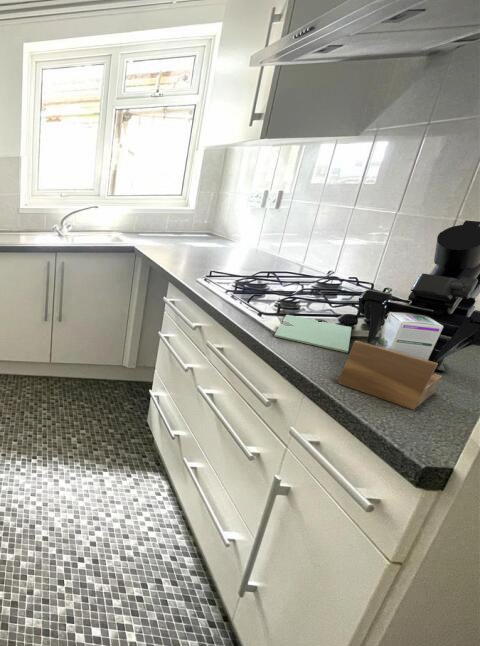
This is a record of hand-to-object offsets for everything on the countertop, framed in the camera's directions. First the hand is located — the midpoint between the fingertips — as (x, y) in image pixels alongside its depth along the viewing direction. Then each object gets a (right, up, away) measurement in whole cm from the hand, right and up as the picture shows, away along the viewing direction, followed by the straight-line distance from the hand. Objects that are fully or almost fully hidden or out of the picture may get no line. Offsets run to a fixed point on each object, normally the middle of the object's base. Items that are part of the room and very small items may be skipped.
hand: (400, 350), depth 76 cm
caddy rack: (+1, -7, +4) cm, 8 cm away
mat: (+9, +4, +29) cm, 31 cm away
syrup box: (+1, -8, +4) cm, 8 cm away
